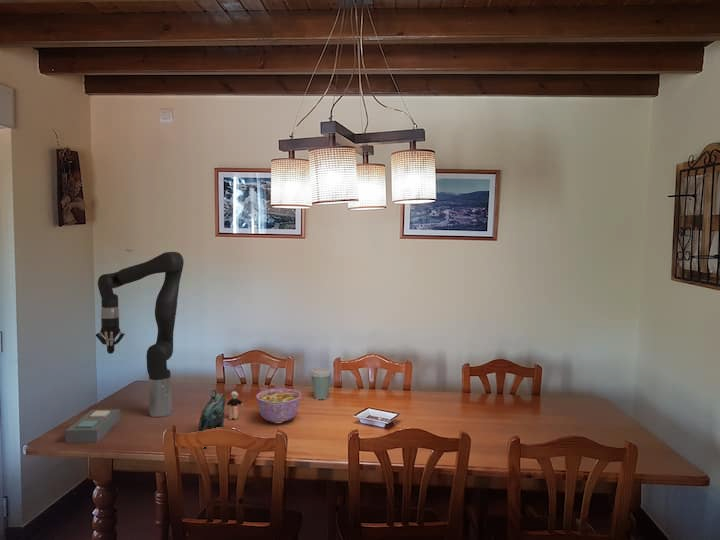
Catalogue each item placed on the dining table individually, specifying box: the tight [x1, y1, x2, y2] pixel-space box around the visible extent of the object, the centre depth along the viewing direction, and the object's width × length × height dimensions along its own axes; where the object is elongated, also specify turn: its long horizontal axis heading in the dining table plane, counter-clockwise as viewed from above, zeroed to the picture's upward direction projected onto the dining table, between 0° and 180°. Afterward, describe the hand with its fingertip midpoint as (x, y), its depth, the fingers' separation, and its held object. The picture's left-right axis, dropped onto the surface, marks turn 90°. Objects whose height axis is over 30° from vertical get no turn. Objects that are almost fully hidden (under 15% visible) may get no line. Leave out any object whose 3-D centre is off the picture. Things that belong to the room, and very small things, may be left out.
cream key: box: [90, 411, 110, 417], centre depth 225 cm, size 6×6×3 cm
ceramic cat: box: [198, 389, 226, 432], centre depth 212 cm, size 20×6×20 cm, turn 174°
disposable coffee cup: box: [310, 367, 332, 399], centre depth 267 cm, size 11×11×15 cm
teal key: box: [77, 421, 99, 428], centre depth 213 cm, size 6×6×3 cm
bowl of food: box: [255, 388, 302, 423], centre depth 235 cm, size 20×20×12 cm
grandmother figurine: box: [225, 391, 244, 420], centre depth 236 cm, size 8×4×13 cm, turn 118°
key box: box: [65, 408, 121, 444], centre depth 219 cm, size 12×24×5 cm, turn 4°
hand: (110, 353), depth 242 cm, fingers closed
